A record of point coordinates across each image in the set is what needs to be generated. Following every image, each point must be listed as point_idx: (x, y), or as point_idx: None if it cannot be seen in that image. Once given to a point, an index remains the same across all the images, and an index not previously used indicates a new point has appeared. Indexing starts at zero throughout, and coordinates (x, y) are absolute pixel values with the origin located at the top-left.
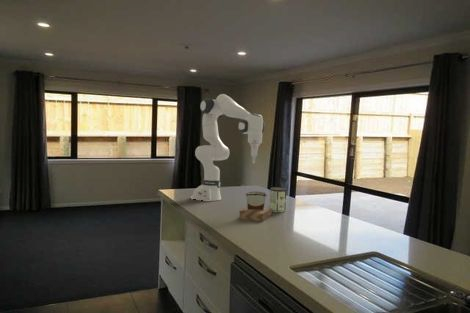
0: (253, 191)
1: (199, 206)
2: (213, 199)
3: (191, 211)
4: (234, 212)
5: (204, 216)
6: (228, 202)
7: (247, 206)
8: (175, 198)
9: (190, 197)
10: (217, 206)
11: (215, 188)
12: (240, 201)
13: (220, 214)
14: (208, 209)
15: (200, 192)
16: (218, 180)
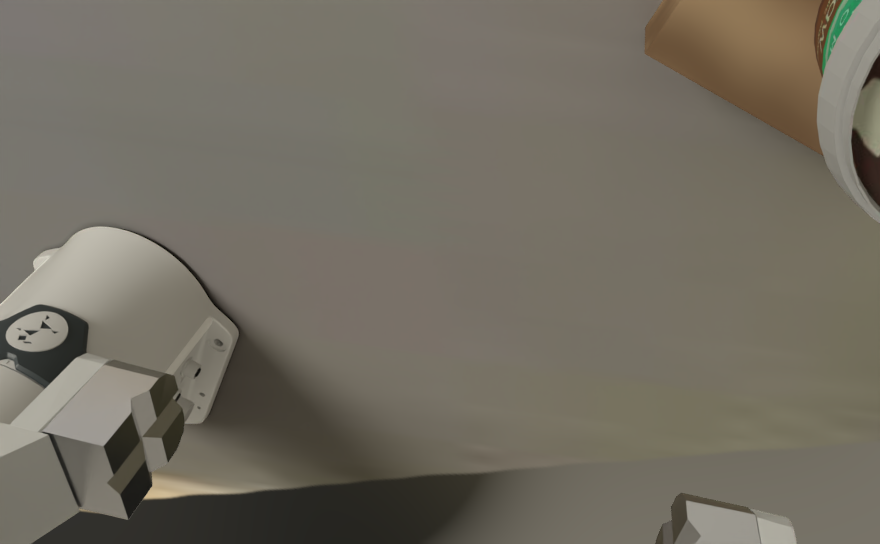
0: (852, 124)
1: (416, 400)
2: (199, 299)
3: (579, 461)
4: (628, 186)
5: (751, 417)
6: (215, 183)
7: None
8: (212, 480)
9: (188, 423)
10: (395, 289)
11: (116, 345)
12: (129, 62)
13: (698, 308)
14: (511, 362)
15: (184, 415)
16: (30, 375)
